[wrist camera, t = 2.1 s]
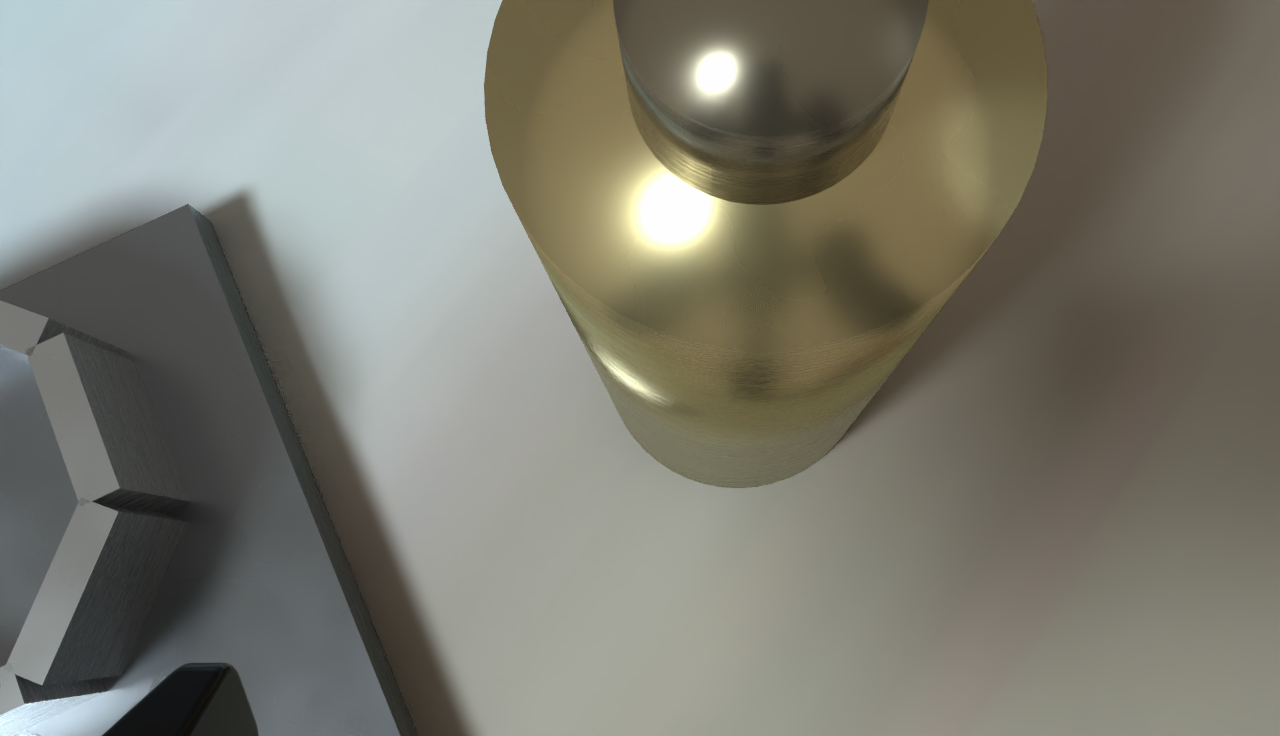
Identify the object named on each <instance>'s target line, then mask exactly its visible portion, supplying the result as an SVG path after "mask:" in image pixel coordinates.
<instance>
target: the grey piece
mask: <svg viewBox="0 0 1280 736" xmlns="http://www.w3.org/2000/svg"><path fill="white" fill-rule="evenodd" d="M187 663H228V664H231V665H232V666H233V667H234V668H235V669H236V670H237V672H238V674H239V676H240V678H241V681H242V684H243V687H244V690H245V692H246V695H247V698H248V701H249V703H250V706H251V709H252V712H253V715H254V717H255V720H256V723H257V727H258V734H259V736H418V735H417V733H416V730H415V728H414V725H413V723H412V721H411V718H410V716H409V713H408V711H407V708H406V706H405V703H404V701H403V698H402V696H401V693H400V691H399V688H398V686H397V683H396V681H395V678H394V676H393V673H392V671H391V668H390V666H389V663H388V661H387V658H386V656H385V653H384V651H383V648H382V646H381V644H380V641H379V639H378V636H377V634H376V631H375V629H374V626H373V624H372V621H371V619H370V616H369V614H368V611H367V609H366V606H365V604H364V601H363V599H362V596H361V594H360V591H359V589H358V586H357V584H356V581H355V579H354V576H353V574H352V572H351V569H350V567H349V564H348V562H347V559H346V557H345V554H344V552H343V549H342V547H341V544H340V542H339V539H338V537H337V534H336V532H335V529H334V527H333V524H332V522H331V519H330V517H329V514H328V512H327V509H326V507H325V504H324V502H323V499H322V497H321V495H320V492H319V490H318V487H317V485H316V482H315V480H314V477H313V475H312V472H311V470H310V467H309V465H308V462H307V460H306V457H305V455H304V452H303V450H302V447H301V445H300V442H299V440H298V437H297V435H296V432H295V430H294V427H293V425H292V423H291V420H290V418H289V415H288V413H287V410H286V408H285V405H284V403H283V400H282V398H281V395H280V393H279V390H278V388H277V385H276V383H275V380H274V378H273V375H272V373H271V370H270V368H269V365H268V363H267V360H266V358H265V355H264V353H263V351H262V348H261V346H260V343H259V341H258V338H257V336H256V333H255V331H254V328H253V326H252V323H251V321H250V318H249V316H248V313H247V311H246V308H245V306H244V303H243V301H242V298H241V296H240V293H239V291H238V288H237V286H236V283H235V281H234V278H233V276H232V274H231V271H230V269H229V266H228V264H227V261H226V259H225V256H224V254H223V251H222V249H221V246H220V244H219V241H218V239H217V236H216V234H215V231H214V229H213V226H212V224H211V221H210V220H208V219H207V218H206V217H205V216H203V215H202V214H201V213H199V212H198V211H197V210H195V209H194V208H193V207H191V206H190V205H189V204H187V205H185V206H183V207H181V208H178V209H176V210H174V211H172V212H170V213H168V214H165V215H163V216H161V217H159V218H157V219H155V220H152V221H150V222H148V223H146V224H144V225H142V226H139V227H137V228H135V229H133V230H131V231H129V232H127V233H124V234H122V235H120V236H118V237H116V238H114V239H111V240H109V241H107V242H105V243H103V244H101V245H98V246H96V247H94V248H92V249H90V250H88V251H85V252H83V253H81V254H79V255H77V256H75V257H72V258H70V259H68V260H66V261H64V262H62V263H59V264H57V265H55V266H53V267H51V268H49V269H46V270H44V271H42V272H40V273H38V274H36V275H34V276H31V277H29V278H27V279H25V280H23V281H21V282H18V283H16V284H14V285H12V286H10V287H8V288H5V289H3V290H1V291H0V736H102V735H103V734H104V733H105V732H106V731H107V730H108V729H109V728H111V727H112V726H113V725H114V724H115V723H116V722H117V721H118V720H119V719H121V718H122V717H123V716H124V715H125V714H126V713H127V712H128V711H129V710H131V709H132V708H133V707H134V706H135V705H136V704H137V703H138V702H139V701H141V700H142V699H143V698H144V697H145V696H146V695H147V694H148V693H149V692H151V691H152V690H153V689H154V688H155V687H156V686H157V685H158V684H159V683H161V682H162V681H163V680H164V679H165V678H166V677H167V676H168V675H169V674H171V673H172V672H173V671H174V670H175V669H177V668H178V667H180V666H182V665H184V664H187Z"/></svg>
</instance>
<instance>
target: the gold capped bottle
mask: <svg viewBox="0 0 1280 736" xmlns="http://www.w3.org/2000/svg"><path fill="white" fill-rule="evenodd" d="M484 94H485V117H486V124H487V130H488V135H489V140H490V146H491V151H492V155H493V158H494V161H495V164H496V167H497V170H498V173H499V176H500V179H501V182H502V185H503V187H504V189H505V191H506V193H507V195H508V197H509V199H510V201H511V203H512V205H513V207H514V209H515V211H516V213H517V215H518V217H519V219H520V221H521V223H522V225H523V227H524V229H525V231H526V233H527V235H528V237H529V238H530V240H531V242H532V244H533V246H534V248H535V250H536V252H537V254H538V256H539V258H540V260H541V262H542V264H543V266H544V268H545V270H546V272H547V274H548V276H549V278H550V280H551V282H552V283H553V285H554V287H555V289H556V291H557V293H558V295H559V297H560V299H561V301H562V303H563V305H564V307H565V309H566V311H567V313H568V315H569V317H570V319H571V321H572V323H573V325H574V327H575V328H576V330H577V332H578V334H579V336H580V338H581V340H582V342H583V344H584V346H585V348H586V350H587V352H588V354H589V356H590V358H591V360H592V362H593V364H594V366H595V368H596V370H597V372H598V373H599V375H600V377H601V379H602V381H603V383H604V385H605V387H606V389H607V391H608V393H609V395H610V397H611V399H612V401H613V403H614V405H615V407H616V409H617V411H618V413H619V415H620V417H621V418H622V420H623V422H624V424H625V426H626V427H627V429H628V430H629V432H630V433H631V435H632V436H633V437H634V439H635V440H636V441H637V442H638V443H639V444H640V445H641V446H642V448H643V449H644V450H645V451H646V452H647V453H649V454H650V455H651V456H652V457H653V458H654V459H656V460H657V461H658V462H659V463H661V464H662V465H664V466H666V467H667V468H669V469H670V470H672V471H673V472H676V473H678V474H680V475H682V476H684V477H686V478H688V479H691V480H694V481H697V482H700V483H703V484H708V485H713V486H718V487H729V488H747V487H758V486H762V485H767V484H772V483H775V482H778V481H781V480H784V479H787V478H790V477H792V476H794V475H796V474H798V473H800V472H802V471H804V470H805V469H807V468H808V467H810V466H811V465H813V464H814V463H816V462H817V461H819V460H820V459H821V458H822V457H823V456H824V455H825V454H827V453H828V452H829V451H830V450H831V449H832V448H833V447H834V446H835V444H836V443H837V442H838V441H839V440H840V439H841V437H842V436H843V435H844V434H845V432H846V431H847V430H848V429H849V427H850V426H851V425H852V423H853V422H854V421H855V420H856V418H857V417H858V416H859V414H860V413H861V412H862V411H863V409H864V408H865V407H866V405H867V404H868V403H869V402H870V400H871V399H872V398H873V396H874V395H875V394H876V393H877V391H878V390H879V389H880V387H881V386H882V385H883V384H884V382H885V381H886V380H887V378H888V377H889V376H890V375H891V373H892V372H893V371H894V369H895V368H896V367H897V366H898V364H899V363H900V362H901V360H902V359H903V358H904V357H905V355H906V354H907V353H908V351H909V350H910V349H911V348H912V346H913V345H914V344H915V342H916V341H917V340H918V339H919V337H920V336H921V335H922V333H923V332H924V331H925V330H926V328H927V327H928V326H929V324H930V323H931V322H932V321H933V319H934V318H935V317H936V315H937V314H938V313H939V312H940V310H941V309H942V308H943V306H944V305H945V304H946V303H947V301H948V300H949V299H950V297H951V296H952V295H953V294H954V292H955V291H956V290H957V288H958V287H959V286H960V285H961V283H962V282H963V281H964V279H965V278H966V277H967V276H968V274H969V273H970V272H971V270H972V269H973V268H974V267H975V265H976V264H977V263H978V261H979V260H980V259H981V258H982V256H983V255H984V254H985V252H986V251H987V250H988V249H989V247H990V246H991V245H992V243H993V242H994V241H995V240H996V238H997V237H998V236H999V234H1000V233H1001V231H1002V229H1003V228H1004V226H1005V225H1006V223H1007V222H1008V220H1009V218H1010V217H1011V215H1012V214H1013V212H1014V210H1015V209H1016V207H1017V206H1018V204H1019V202H1020V200H1021V197H1022V195H1023V193H1024V191H1025V189H1026V186H1027V184H1028V182H1029V180H1030V177H1031V175H1032V173H1033V170H1034V167H1035V163H1036V160H1037V156H1038V153H1039V149H1040V146H1041V142H1042V139H1043V133H1044V126H1045V119H1046V111H1047V104H1048V84H1047V63H1046V56H1045V49H1044V43H1043V36H1042V32H1041V29H1040V25H1039V22H1038V19H1037V15H1036V12H1035V9H1034V5H1033V2H1032V0H503V1H502V3H501V6H500V8H499V11H498V14H497V16H496V19H495V22H494V27H493V31H492V35H491V39H490V43H489V48H488V52H487V61H486V72H485V82H484Z"/></svg>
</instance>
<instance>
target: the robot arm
mask: <svg viewBox="0 0 1280 736" xmlns="http://www.w3.org/2000/svg"><path fill="white" fill-rule="evenodd" d="M102 736H259V734H258V727H257V723H256V720H255V717H254V715H253V712H252V709H251V706H250V703H249V701H248V698H247V695H246V692H245V690H244V687H243V684H242V681H241V678H240V676H239V674H238V672H237V670H236V669H235V668H234V667H233V666H232V665H231V664H228V663H187V664H184V665H182V666H180V667H178V668H177V669H175V670H174V671H173V672H172V673H171V674H169V675H168V676H167V677H166V678H165V679H164V680H163V681H162V682H161V683H159V684H158V685H157V686H156V687H155V688H154V689H153V690H152V691H151V692H149V693H148V694H147V695H146V696H145V697H144V698H143V699H142V700H141V701H139V702H138V703H137V704H136V705H135V706H134V707H133V708H132V709H131V710H129V711H128V712H127V713H126V714H125V715H124V716H123V717H122V718H121V719H119V720H118V721H117V722H116V723H115V724H114V725H113V726H112V727H111V728H109V729H108V730H107V731H106V732H105V733H104V734H103V735H102Z"/></svg>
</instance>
